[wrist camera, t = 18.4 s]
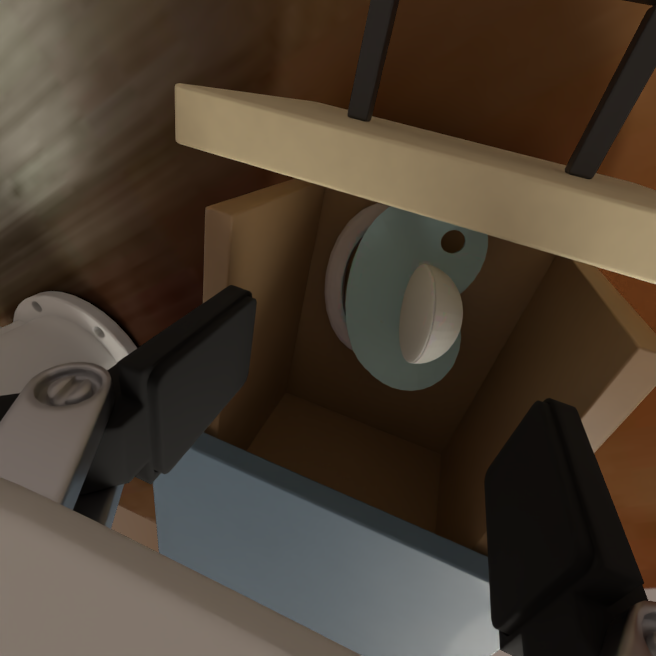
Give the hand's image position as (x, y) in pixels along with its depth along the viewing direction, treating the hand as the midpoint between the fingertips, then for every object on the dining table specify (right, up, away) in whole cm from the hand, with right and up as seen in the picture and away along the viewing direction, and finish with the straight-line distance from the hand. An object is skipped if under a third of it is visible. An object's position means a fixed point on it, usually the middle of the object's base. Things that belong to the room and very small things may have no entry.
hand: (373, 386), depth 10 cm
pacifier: (+2, +3, +6) cm, 7 cm away
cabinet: (+1, -6, +15) cm, 16 cm away
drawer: (+3, +4, +7) cm, 9 cm away
